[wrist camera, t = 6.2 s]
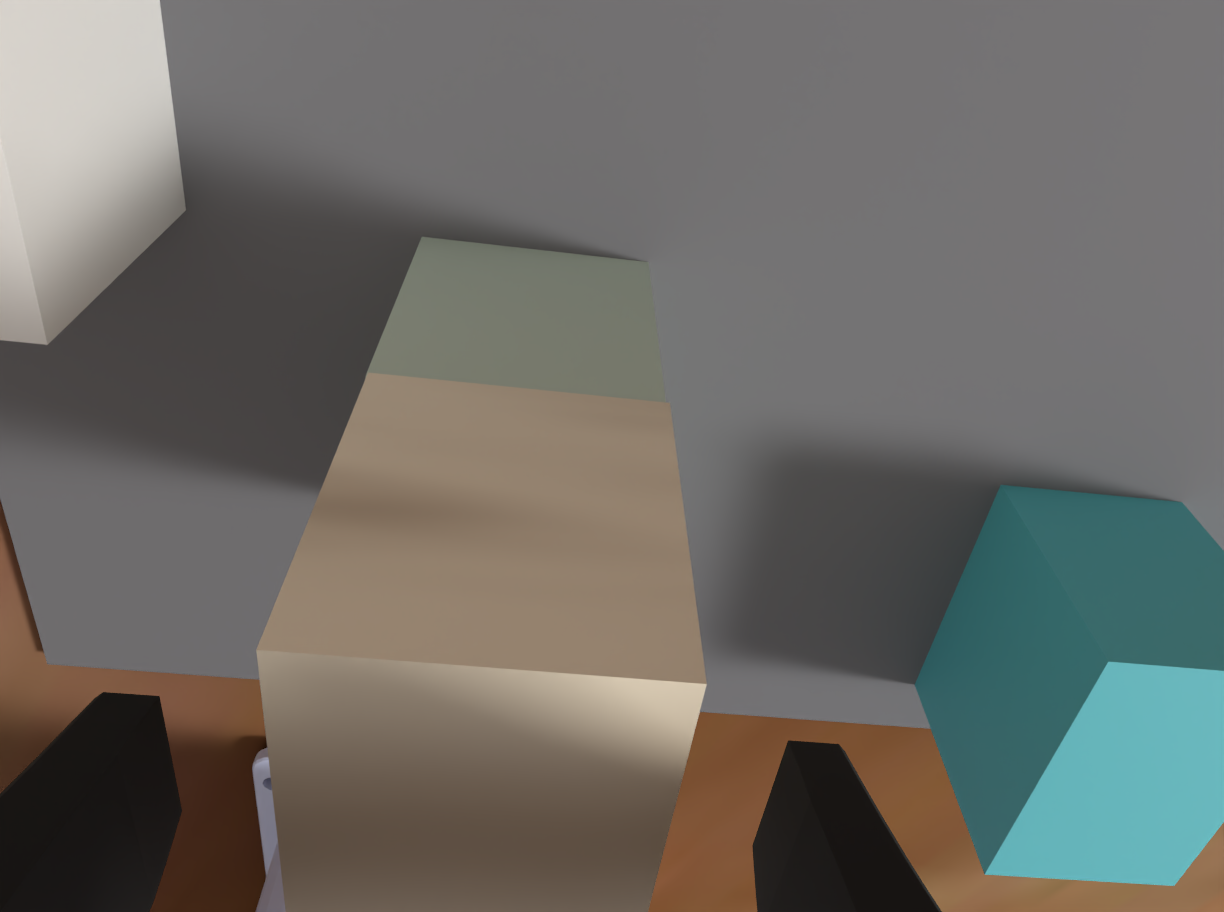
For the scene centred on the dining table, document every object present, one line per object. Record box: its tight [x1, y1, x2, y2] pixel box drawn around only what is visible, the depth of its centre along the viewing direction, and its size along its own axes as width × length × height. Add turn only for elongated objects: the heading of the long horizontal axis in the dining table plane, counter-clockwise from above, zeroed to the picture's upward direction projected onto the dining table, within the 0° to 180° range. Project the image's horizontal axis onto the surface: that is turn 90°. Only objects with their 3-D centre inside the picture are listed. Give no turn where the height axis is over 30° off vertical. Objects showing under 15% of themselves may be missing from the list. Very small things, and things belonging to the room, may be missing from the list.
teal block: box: [915, 485, 1224, 886], centre depth 20 cm, size 6×4×5 cm, turn 173°
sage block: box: [365, 237, 666, 402], centre depth 16 cm, size 6×4×5 cm, turn 173°
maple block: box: [256, 373, 707, 912], centre depth 12 cm, size 6×4×5 cm, turn 173°
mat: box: [0, 0, 1224, 729], centre depth 18 cm, size 21×27×1 cm
